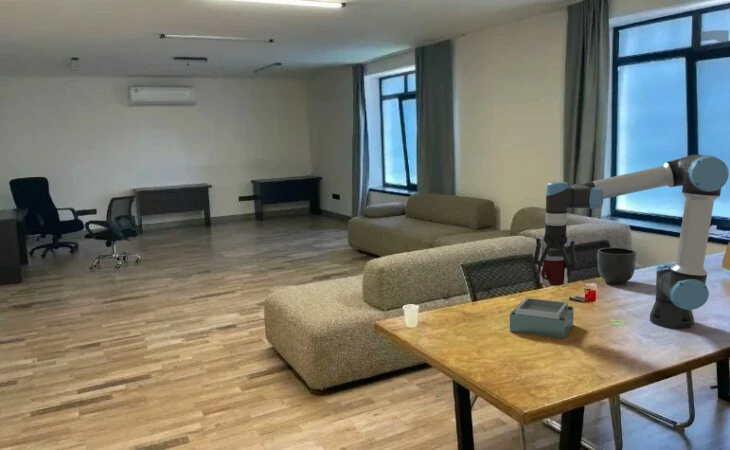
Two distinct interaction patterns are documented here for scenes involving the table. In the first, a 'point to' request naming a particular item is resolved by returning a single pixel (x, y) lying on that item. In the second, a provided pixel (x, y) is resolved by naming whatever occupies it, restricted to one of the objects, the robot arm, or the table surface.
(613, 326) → the table surface
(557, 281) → the mug
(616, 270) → the planter
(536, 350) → the table surface
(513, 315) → the grey rectangular container
